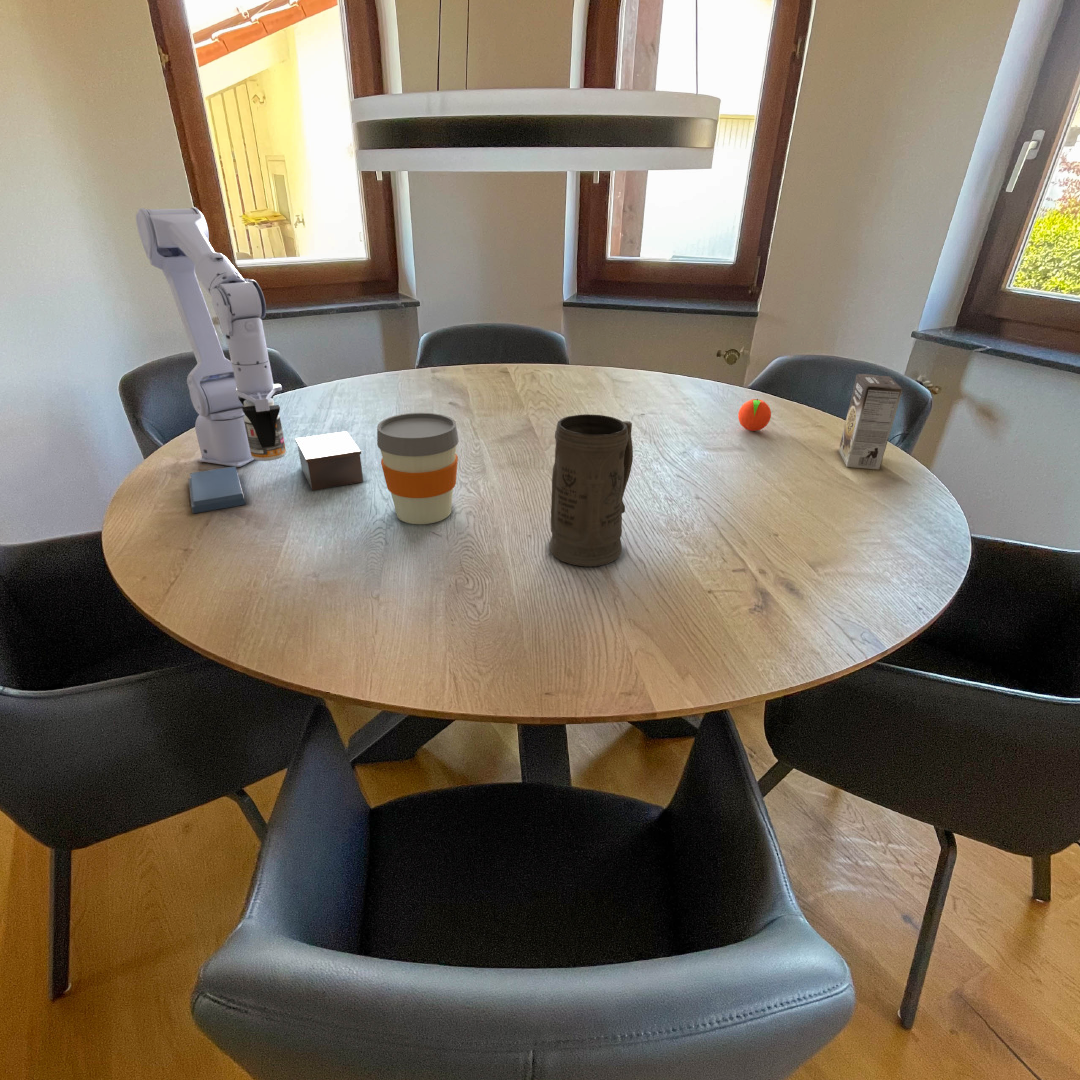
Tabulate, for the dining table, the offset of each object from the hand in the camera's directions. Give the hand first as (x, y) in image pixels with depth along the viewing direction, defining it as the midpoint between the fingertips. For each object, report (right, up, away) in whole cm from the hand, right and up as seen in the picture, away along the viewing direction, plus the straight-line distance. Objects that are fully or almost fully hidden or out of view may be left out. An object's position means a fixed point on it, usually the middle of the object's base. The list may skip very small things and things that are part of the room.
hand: (266, 440), depth 113 cm
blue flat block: (-9, -9, 0) cm, 13 cm away
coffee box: (+111, -1, +18) cm, 113 cm away
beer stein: (+55, -18, -13) cm, 60 cm away
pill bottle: (0, -3, +2) cm, 3 cm away
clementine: (+95, +7, +33) cm, 100 cm away
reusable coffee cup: (+28, -13, -5) cm, 31 cm away
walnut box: (+9, -5, +8) cm, 13 cm away
